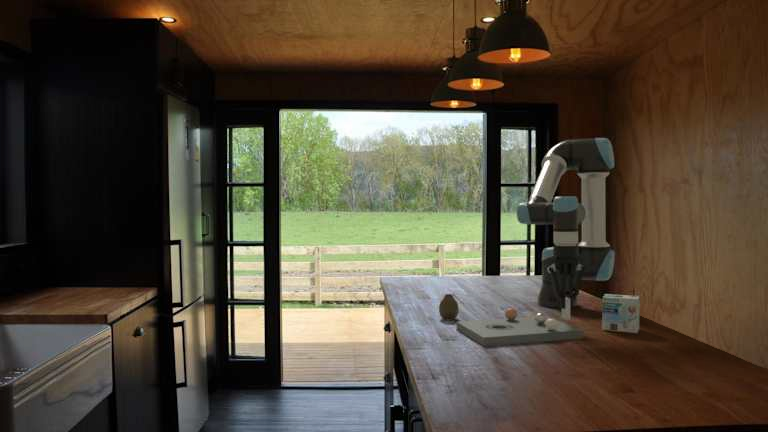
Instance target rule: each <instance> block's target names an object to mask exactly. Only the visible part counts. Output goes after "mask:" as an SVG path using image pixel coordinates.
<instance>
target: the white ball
mask: <svg viewBox="0 0 768 432" xmlns="http://www.w3.org/2000/svg"><path fill="white" fill-rule="evenodd" d="M554 319H555V318H553V319H548V320H547V321H546V323H545V326H546V328H547V329H548V330H551V331H552V330H555V329H556V328H557V322H556V321H555V320H556V319H555V320H554Z"/></svg>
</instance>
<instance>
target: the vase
mask: <svg viewBox="0 0 768 432" xmlns="http://www.w3.org/2000/svg"><path fill="white" fill-rule="evenodd" d="M438 311H439V315H440V317H441V318H442V320H444V321H454V320H455V319H457V317H458V315H459V304H458V302H457V300H456V299H455V298H454V295H453V294H451V293H446V294H444V297H443V298H442V300H441V301H440V303H439V306H438Z"/></svg>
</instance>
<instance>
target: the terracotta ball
mask: <svg viewBox="0 0 768 432" xmlns="http://www.w3.org/2000/svg"><path fill="white" fill-rule="evenodd" d="M504 316H505V319H509V320H514V319H515V318H518V312H517V310H516V309H515V308H514V307H508V308H506V310H505V311H504Z"/></svg>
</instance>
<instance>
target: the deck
mask: <svg viewBox="0 0 768 432" xmlns="http://www.w3.org/2000/svg"><path fill="white" fill-rule="evenodd" d="M545 316H546V321H547V320H548V319H554V320H555V321H556V322H557V328H556V329H555V330H552V331H551V330H548V329H547V328H546V326H545V323H546V322H545V323H544V324H538V323H536V321H535V316H526V317H525V316H524V317H516V318H515V319H514V320H509V319H507V318H495V319H479V320H478V319H477V320H465V321H463V320H462V321H456V330H457V331H458V332H460V333H462V334H463V335H465V336H466V337H468V338H470V339H471V340H473V341H475V342H476V343H478V344H479V345H481V346H482V347H488V346H489V347H490V346H503V345H516V344H527V343H528V344H529V343H530V344H531V343H543V342H552V341H553V342H555V341H566V340H567V341H569V340H580V339H581V340H582V339H584V335H583V334H584V332H583V331H584V330H583V329H580V328H578V327H576V326H573V325H571V324H569V323H566V322H563V321H561V320H557V319H555V318H552V317H550V316H548V315H545Z"/></svg>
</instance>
